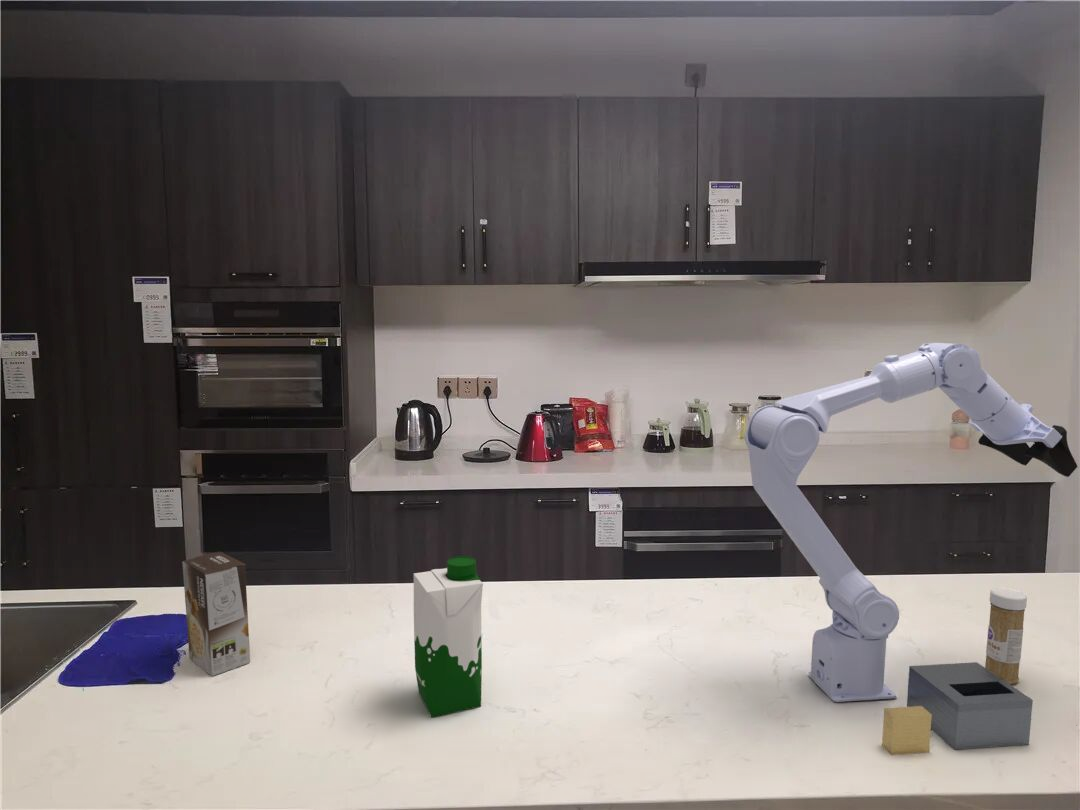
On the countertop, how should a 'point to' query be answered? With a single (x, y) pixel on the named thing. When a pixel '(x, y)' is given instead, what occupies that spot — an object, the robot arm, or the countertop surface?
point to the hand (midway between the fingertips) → (1049, 465)
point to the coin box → (970, 705)
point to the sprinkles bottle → (1005, 633)
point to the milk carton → (448, 636)
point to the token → (906, 730)
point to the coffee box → (216, 612)
